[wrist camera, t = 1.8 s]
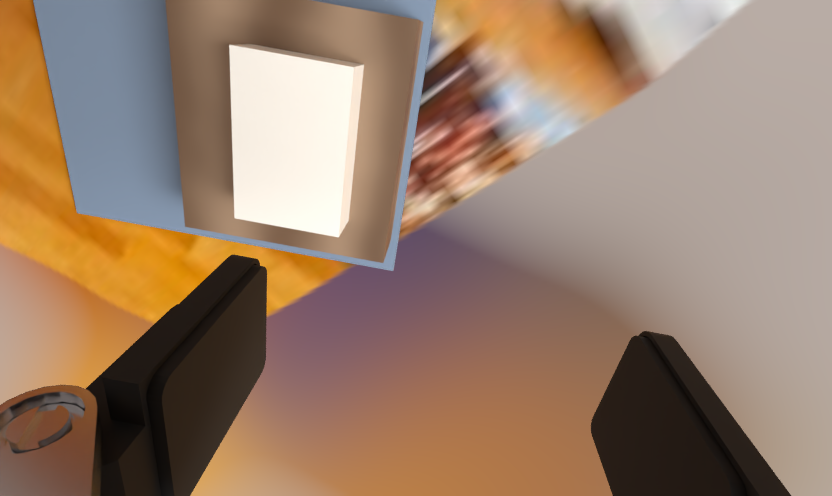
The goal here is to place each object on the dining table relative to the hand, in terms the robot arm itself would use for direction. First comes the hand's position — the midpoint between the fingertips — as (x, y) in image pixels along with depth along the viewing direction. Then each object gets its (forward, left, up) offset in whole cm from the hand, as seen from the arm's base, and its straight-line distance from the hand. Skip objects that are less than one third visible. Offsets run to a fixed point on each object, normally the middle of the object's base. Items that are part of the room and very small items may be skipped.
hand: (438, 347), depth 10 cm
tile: (+8, 0, -16) cm, 18 cm away
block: (+9, 0, -20) cm, 22 cm away
